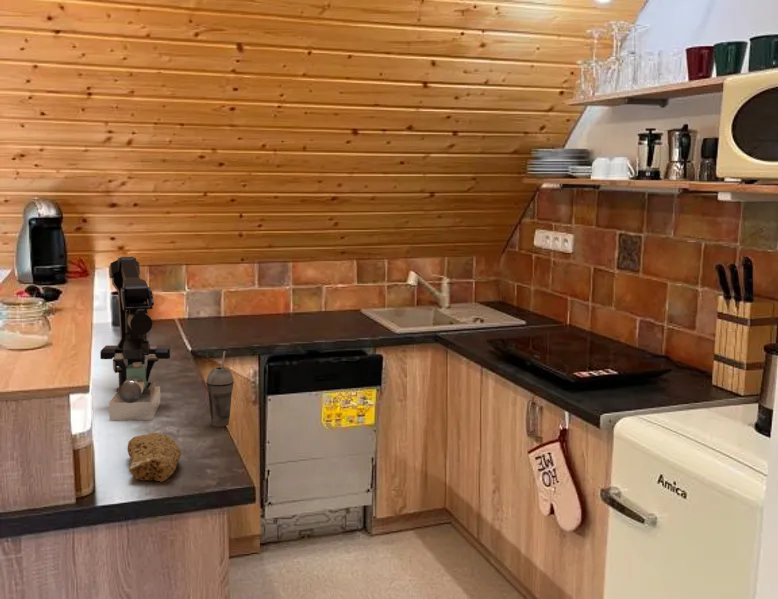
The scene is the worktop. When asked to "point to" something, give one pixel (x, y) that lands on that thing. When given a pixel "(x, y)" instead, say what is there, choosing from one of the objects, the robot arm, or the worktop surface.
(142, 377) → the green block with knob
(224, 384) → the beverage cup
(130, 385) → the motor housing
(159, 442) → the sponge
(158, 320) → the worktop surface
